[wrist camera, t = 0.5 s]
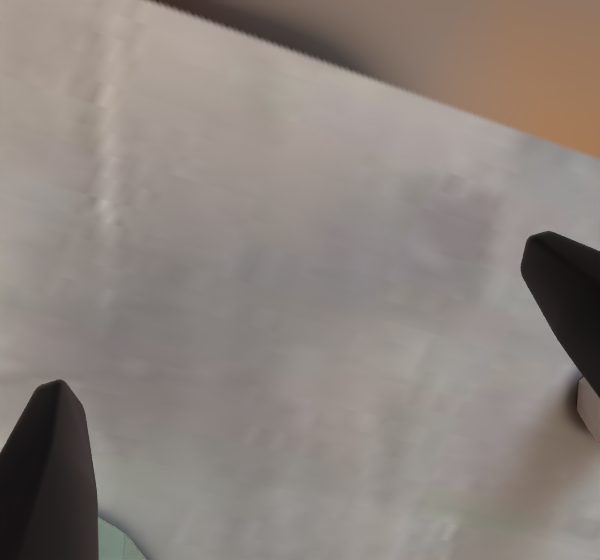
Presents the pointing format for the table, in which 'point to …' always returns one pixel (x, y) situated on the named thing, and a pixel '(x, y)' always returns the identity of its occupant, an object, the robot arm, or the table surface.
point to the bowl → (116, 544)
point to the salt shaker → (589, 408)
